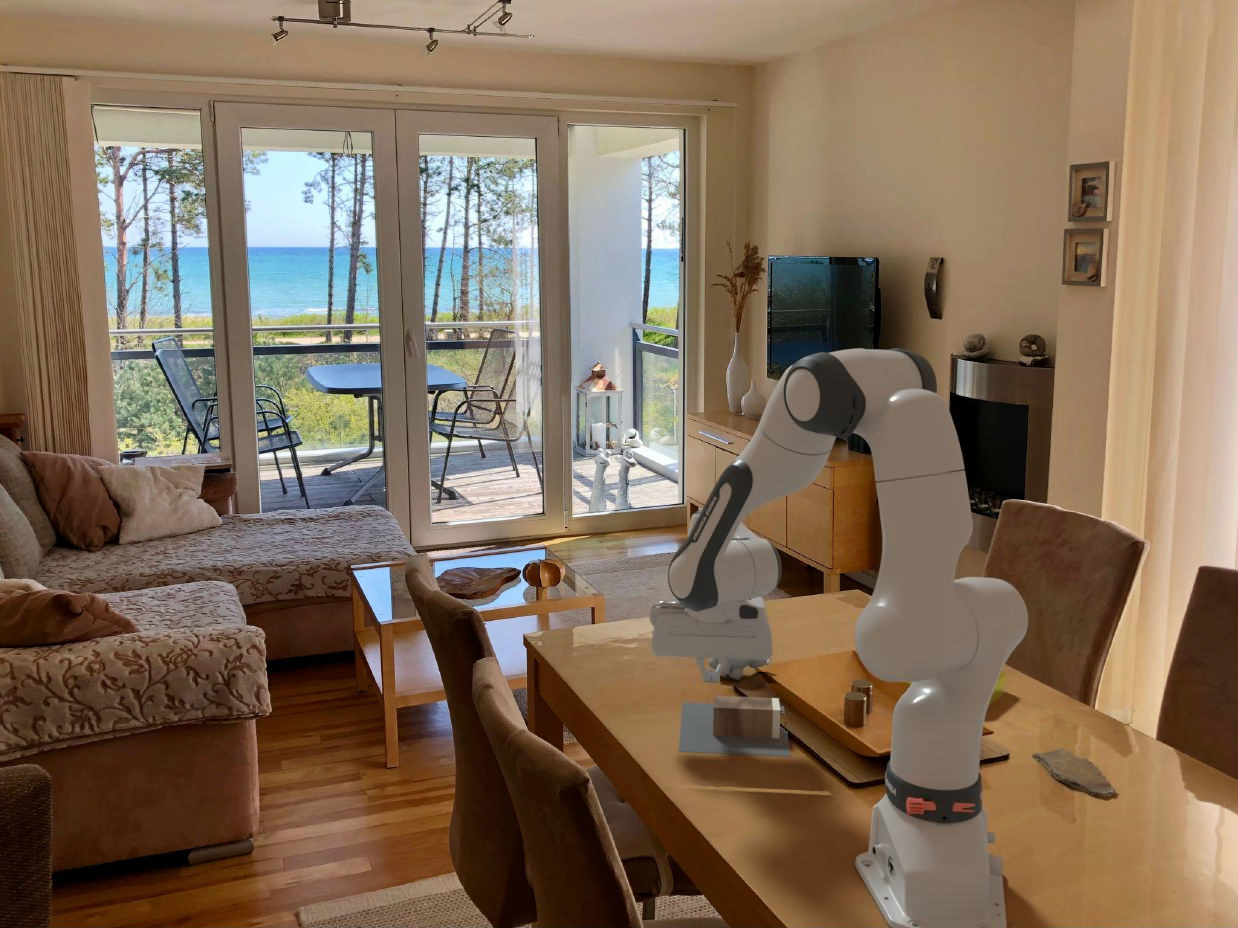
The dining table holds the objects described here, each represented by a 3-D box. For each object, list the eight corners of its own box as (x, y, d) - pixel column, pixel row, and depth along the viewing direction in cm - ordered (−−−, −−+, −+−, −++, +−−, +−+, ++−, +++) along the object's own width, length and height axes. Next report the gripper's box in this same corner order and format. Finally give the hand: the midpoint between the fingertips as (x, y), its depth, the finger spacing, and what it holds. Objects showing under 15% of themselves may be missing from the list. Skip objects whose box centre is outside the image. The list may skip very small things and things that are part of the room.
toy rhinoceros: (769, 692, 210) (786, 652, 210) (715, 676, 206) (733, 635, 206) (754, 678, 217) (770, 638, 216) (702, 662, 213) (718, 622, 212)
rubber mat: (790, 759, 177) (790, 756, 177) (678, 754, 178) (678, 751, 178) (783, 708, 196) (783, 706, 196) (682, 704, 198) (682, 702, 198)
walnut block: (713, 735, 184) (779, 738, 183) (713, 707, 183) (780, 710, 182) (713, 723, 189) (777, 725, 188) (713, 695, 188) (778, 698, 187)
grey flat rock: (1069, 753, 180) (1070, 743, 180) (1126, 799, 165) (1127, 788, 165) (1024, 756, 179) (1025, 746, 179) (1077, 803, 164) (1078, 792, 163)
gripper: (648, 606, 180) (648, 686, 183) (774, 610, 178) (772, 690, 181) (651, 594, 186) (650, 672, 189) (772, 598, 184) (770, 676, 187)
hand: (711, 681), depth 185 cm, fingers closed
